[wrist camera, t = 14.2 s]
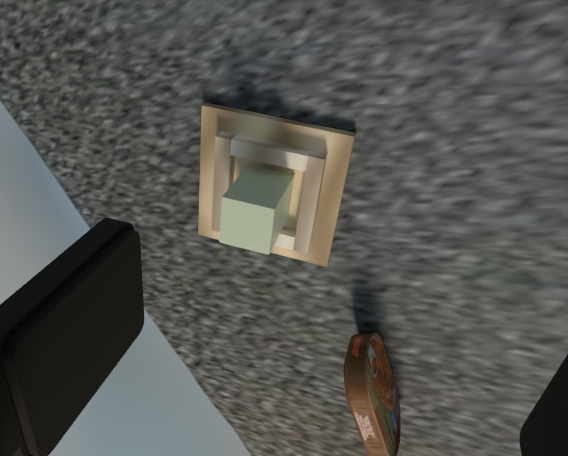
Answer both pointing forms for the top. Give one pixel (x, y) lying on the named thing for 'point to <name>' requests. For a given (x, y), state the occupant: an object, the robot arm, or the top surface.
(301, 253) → the end holder
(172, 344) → the top surface
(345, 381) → the tin
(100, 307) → the robot arm
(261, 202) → the pale green block
